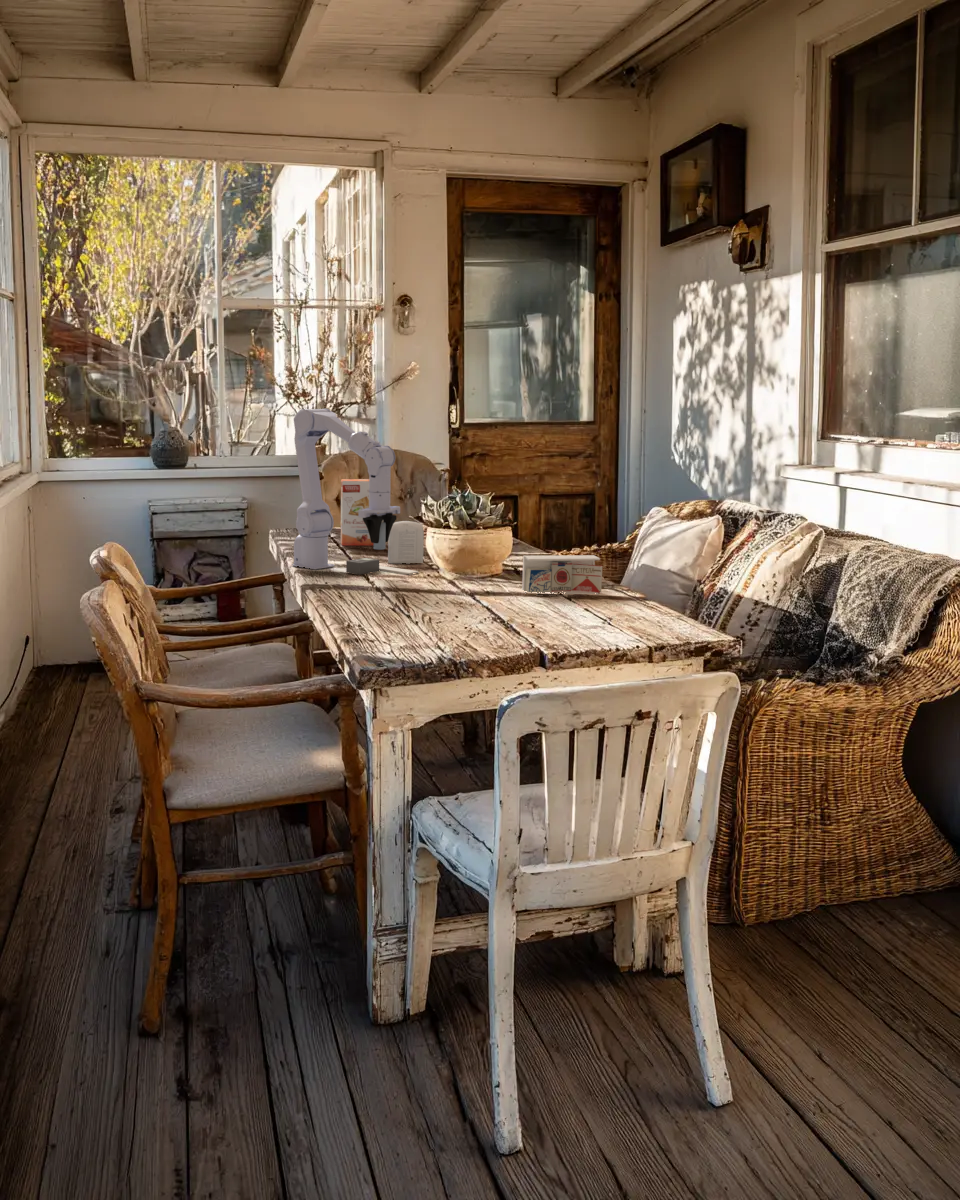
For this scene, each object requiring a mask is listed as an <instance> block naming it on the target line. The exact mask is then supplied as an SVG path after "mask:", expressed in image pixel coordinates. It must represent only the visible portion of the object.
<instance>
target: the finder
mask: <svg viewBox="0 0 960 1200" xmlns="http://www.w3.org/2000/svg"><path fill="white" fill-rule="evenodd" d="M345 564H346V567H345V571H346V572H349V573H348V574H352V573H354V575H360V574H361V575H365V573H366V574H371V573H370V572H372V573H377V571H378V572H380V571H379V565H380V559H376V558H370V557H363V558H356V559H355V558H354V559H350V560H349V559H348V560H346V562H345Z"/></svg>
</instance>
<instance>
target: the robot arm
mask: <svg viewBox="0 0 960 1200" xmlns="http://www.w3.org/2000/svg"><path fill="white" fill-rule="evenodd" d="M293 423H294V425H293V426H294V438H293V439H294V446H295V454H296V463H297V469H298V476H299V485H300V491H301V499H302V503H301V504H300V505H299V506H298V507H297V509H296V519H295V527H296V530H297V531H298V533H299V534H298V535H297V536H296V537H295V539H294V542H293V563H292V564H291V566H292V565H293V566H292V567H297V566H299V567H298V568H303V567H305V568H304V569H309V568H310V570H320V569H327V568H333V567H335V564H333V563H332V564H330V563H329V536H330V535H331V534H330V532H331V531H332V530H333V528H334V524H335V523H334V522H335V521H334V520H335V519H334V516H333V515H332V513H331V509H330V506H329V504H328V503H327V502H325V501H324V500H323V494H322V486H321V480H320V478H321V477H320V473H319V472H320V471H319V465H318V464H319V463H318V458H317V450H316V443H317V442H318V441H319V439H320V438H322V437H323V436H324V435H326V434H328V432H331V433H332V434H333V435H336V436H337V437H338V438H340V439H341V440H343V441H345V442H346V443H347V444H348V448H349V450H350V451H352V452H353V453H355V454H356V455H358V457H360V458H361V459H363V460H364V463H365V465H366V468H367V473H368V479H369V508H366V509H362V510H358V517H362V518H363V521H364V522H365V524H366V526H367V529H368V532H369V535H370V539H371V543H378V542H379V533H380V527H381V523H382V520H383V522H385V523H386V543H388V539H389V535H390V531H391V528H392V526H393V524H394V523H395V522H396V521H397V515H399V514H401V506H398V505H393V506H392V505H391V491H392V489H391V484H392V483H391V480H392V479H391V478H392V477H391V476H392V475H391V473H392V469H391V467H393V465H394V464H395V461H396V454H395V451H394V449H393V448H392V447H391V446H390V445H382V444H381V443H380V441H378V440H374V439H373V438H372V437H371V436H369V432H367V431H360V430H359V431H355V430H353V429H352V428H351V427H350V426H349V425H348V424H346V423H345V422H344V421H343V420H342V419H340V418H339V417H338V416H337V413H336V412H334V411H332V410H330V409H329V408H312V409H311V408H310V409H309V408H301V409H299V410H298V412H297V413H296V414H295V416H294V418H293ZM313 511H314V512H313ZM383 512H386V513H383ZM395 514H397V515H395Z"/></svg>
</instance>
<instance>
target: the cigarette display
mask: <svg viewBox="0 0 960 1200" xmlns="http://www.w3.org/2000/svg"><path fill="white" fill-rule="evenodd" d="M522 556H523V557H522V583H521V584H522V587H521V591H522V590H524V591H527V592H531V593H532V592H537V593H538V594H541V592H542V593H545V592H550V593H551V594H552V592H554V593H558V592H561V593H563V594H564V592H566V593H565V594H595V593H596V595H599V593H602V582H603V581H602V580H603V579H602V578H603V565H597V564H595V563H596V562H595V561H600V560H601V558H600V557H598V556H596V555H594V554H591V555H590V554H587V555H581V554H579V555H575V554H573V555H571V554H570V555H564V554H563V555H562V554H561V555H560V554H559V555H556V554H554V555H522ZM562 591H563V592H562ZM539 592H540V593H539ZM554 593H553V594H554ZM559 594H560V593H559Z"/></svg>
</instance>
